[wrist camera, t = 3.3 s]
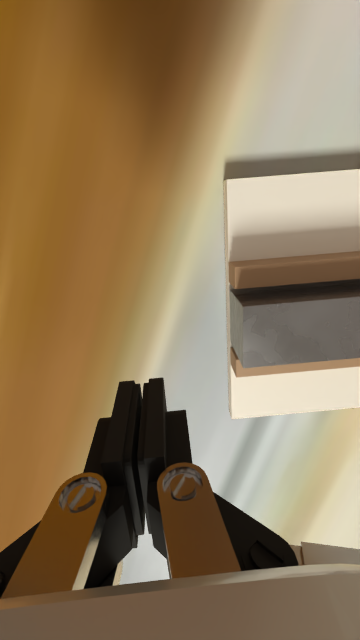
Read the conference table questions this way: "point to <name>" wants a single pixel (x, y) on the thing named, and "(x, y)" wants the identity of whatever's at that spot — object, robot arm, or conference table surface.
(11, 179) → the conference table surface
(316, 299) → the bolt
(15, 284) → the conference table surface
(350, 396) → the lock board
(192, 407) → the conference table surface
